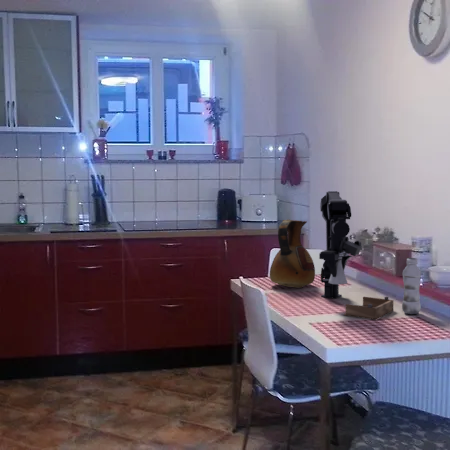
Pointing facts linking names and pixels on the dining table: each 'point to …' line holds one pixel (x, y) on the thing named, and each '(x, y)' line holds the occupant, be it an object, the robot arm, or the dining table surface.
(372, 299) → the holder
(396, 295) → the dining table surface
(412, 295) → the plastic bottle
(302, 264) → the ceramic pitcher
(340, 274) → the flask
